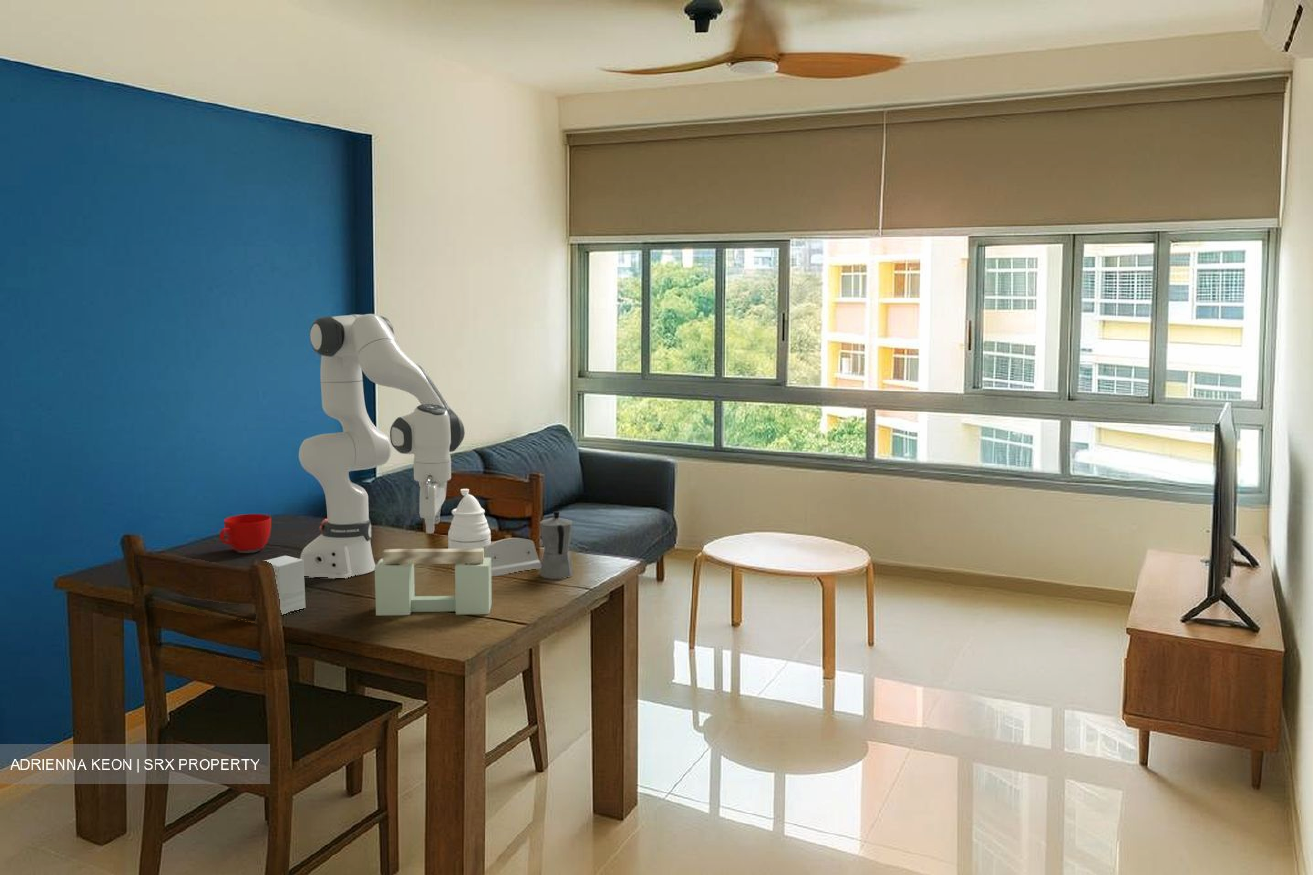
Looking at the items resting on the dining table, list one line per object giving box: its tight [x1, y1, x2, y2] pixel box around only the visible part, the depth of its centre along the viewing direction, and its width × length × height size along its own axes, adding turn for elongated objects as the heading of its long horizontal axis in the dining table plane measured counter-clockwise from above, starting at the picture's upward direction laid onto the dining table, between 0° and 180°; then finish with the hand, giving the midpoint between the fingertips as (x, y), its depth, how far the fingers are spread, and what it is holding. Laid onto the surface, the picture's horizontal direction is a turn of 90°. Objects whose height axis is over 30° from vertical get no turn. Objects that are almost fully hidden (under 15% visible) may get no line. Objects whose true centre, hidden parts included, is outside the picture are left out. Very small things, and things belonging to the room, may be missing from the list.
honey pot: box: [447, 488, 492, 549], centre depth 308 cm, size 13×13×18 cm
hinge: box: [484, 537, 542, 578], centre depth 285 cm, size 17×5×10 cm, turn 125°
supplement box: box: [264, 555, 307, 615], centre depth 246 cm, size 7×7×13 cm
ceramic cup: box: [219, 513, 272, 551], centre depth 299 cm, size 13×17×10 cm
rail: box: [382, 548, 484, 565], centre depth 247 cm, size 24×3×6 cm, turn 95°
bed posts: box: [374, 558, 493, 616], centre depth 248 cm, size 27×8×12 cm, turn 95°
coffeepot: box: [539, 510, 574, 580], centre depth 279 cm, size 15×9×18 cm, turn 15°
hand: (433, 527), depth 246 cm, fingers open, 8 cm apart
